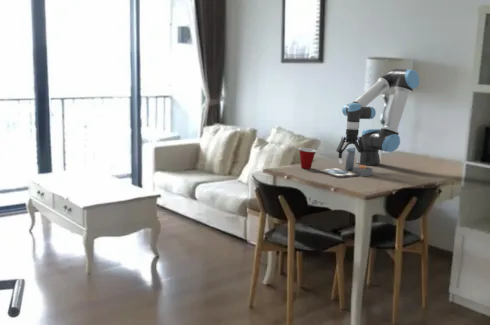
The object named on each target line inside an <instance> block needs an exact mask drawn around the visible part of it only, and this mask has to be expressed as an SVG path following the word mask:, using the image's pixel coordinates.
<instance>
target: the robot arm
mask: <svg viewBox="0 0 490 325" xmlns="http://www.w3.org/2000/svg"><path fill="white" fill-rule="evenodd" d="M419 85H420V75H419V73H418V72H417V71H416V70H414V69H411V68H408V69H402V68H393V69H391V70H388V71H387V72H385V73H384V74H382V75H381V76H379V77H378V78H377V81H376V82H375V83H374V84H372V85H371V86H370V87H369V88H368V89H367V90H366V91H364V92H363V93H362V94H361V95H360V96H358V98H356V99H355V100H353V101H352V102H351V103H348V104H345V105H343V106H342V108H341V109H342V110H341V111H342V114H343V115H344V116H346V118H347V119H346V129H345V136H341V139H340V141H339V143H338V146H337V148H336V150H335V151H336V152H337V153H338V164H341V165H342V164H343V163H344V151H345V150H347V147H349V145H354V148H355V150H357V151H356V156H355V157H356V160H355V163H357V164H359V165H366V166H380V165H381V159H380V154H379V151H383V152H385V153H387V152H388V153H393V152H395V151H396V150H397V149H398V148H399V146H400V144H401V137H400V136H399V134H400V133H399V131H398V130H399V127H400V124H401V119H402V117H403V113H404V110H405V107H406V104H407V101H408V97H409V95H410V94H412V92H413V90H415V89H416V88H418V87H419ZM392 88H393V89H394V91H395V92H394V94H393V97H392V100H391V103H390V107H389V110H388V113H387V116H386V119H385V123H384V124H383V126H382V127H380V128H369V129H368V128H367V129H366V128H365V129H363V130H362V132H361V133H362V134H361V136H359V131H360V130H359V128H360V123H361V120H372V119H374V118H375V117H376V113H377V110H376V108H375V107H374V106H368V105H369V104H370V103H372V102H373V101H374V100H375V99H377V97H379V96H380V95H381V94H383V93H384V92H385V91H388V90H390V89H392Z"/></svg>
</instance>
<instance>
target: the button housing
mask: <svg viewBox="0 0 490 325" xmlns="http://www.w3.org/2000/svg"><path fill="white" fill-rule="evenodd" d="M352 173H354V174H357V175H358V177H359V176H360V177H368V176H372V175H373V168H371V167H368V166H367V167H366V169H361V168H359V166H354V167H353V171H352Z"/></svg>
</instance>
